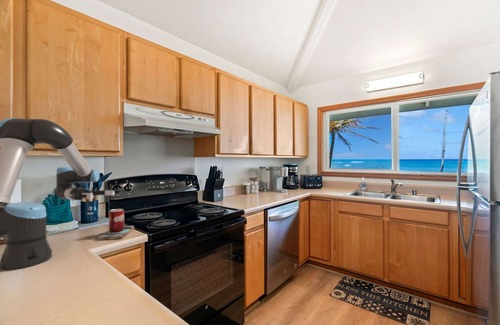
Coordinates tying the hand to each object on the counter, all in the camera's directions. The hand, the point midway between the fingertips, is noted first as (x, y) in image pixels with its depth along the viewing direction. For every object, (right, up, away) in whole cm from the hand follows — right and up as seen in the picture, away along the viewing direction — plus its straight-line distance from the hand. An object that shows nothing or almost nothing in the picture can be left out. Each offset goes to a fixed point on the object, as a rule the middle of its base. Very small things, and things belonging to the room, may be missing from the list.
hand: (103, 194), depth 130 cm
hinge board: (+10, -21, -3) cm, 24 cm away
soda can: (+9, -20, -3) cm, 23 cm away
